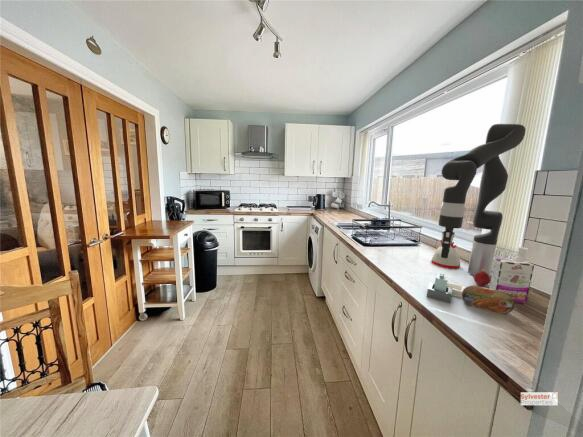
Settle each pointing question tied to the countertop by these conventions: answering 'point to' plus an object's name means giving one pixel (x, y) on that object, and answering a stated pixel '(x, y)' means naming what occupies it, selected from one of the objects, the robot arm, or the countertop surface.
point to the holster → (456, 289)
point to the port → (439, 293)
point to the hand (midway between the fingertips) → (445, 254)
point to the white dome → (449, 262)
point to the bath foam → (522, 254)
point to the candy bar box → (512, 278)
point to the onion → (482, 278)
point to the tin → (488, 299)
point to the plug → (441, 282)
